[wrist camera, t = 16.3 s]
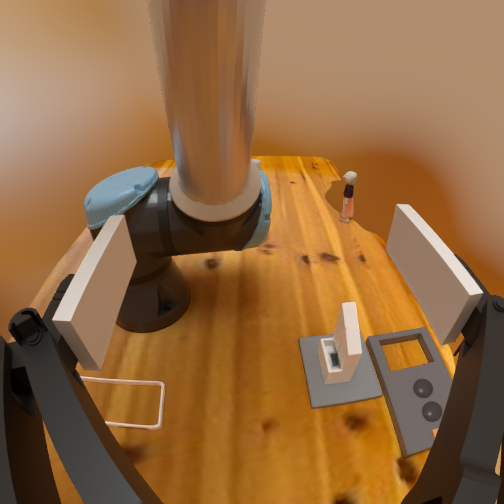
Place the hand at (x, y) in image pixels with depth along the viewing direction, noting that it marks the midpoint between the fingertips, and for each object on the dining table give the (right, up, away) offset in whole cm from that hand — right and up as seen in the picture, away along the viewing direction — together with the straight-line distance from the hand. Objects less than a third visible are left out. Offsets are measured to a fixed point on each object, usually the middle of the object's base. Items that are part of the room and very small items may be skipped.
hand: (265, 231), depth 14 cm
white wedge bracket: (+11, -17, +26) cm, 33 cm away
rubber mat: (+12, -18, +26) cm, 34 cm away
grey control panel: (+23, -21, +22) cm, 38 cm away
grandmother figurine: (+23, +8, +62) cm, 67 cm away
